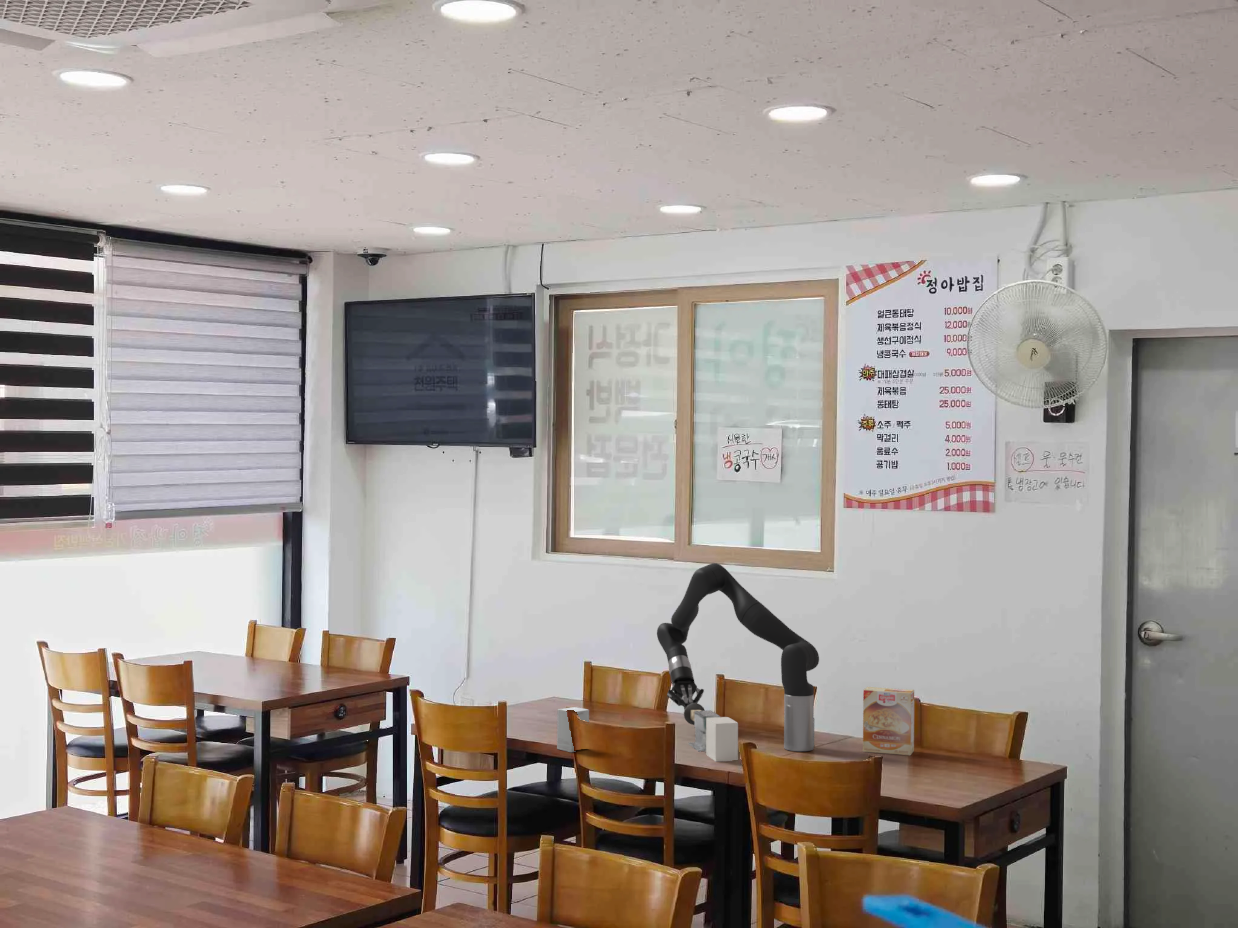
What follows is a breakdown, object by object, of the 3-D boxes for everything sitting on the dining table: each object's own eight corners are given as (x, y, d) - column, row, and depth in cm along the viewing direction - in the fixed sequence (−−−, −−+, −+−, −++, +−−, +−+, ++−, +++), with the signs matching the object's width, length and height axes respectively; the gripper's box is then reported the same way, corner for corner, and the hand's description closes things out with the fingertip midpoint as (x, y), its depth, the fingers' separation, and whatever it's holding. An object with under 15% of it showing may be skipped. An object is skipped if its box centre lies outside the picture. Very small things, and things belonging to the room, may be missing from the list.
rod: (683, 724, 448) (683, 703, 448) (704, 723, 450) (704, 702, 450) (703, 738, 426) (703, 715, 426) (725, 737, 427) (725, 714, 427)
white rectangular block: (706, 754, 423) (706, 717, 423) (727, 753, 425) (728, 716, 425) (715, 761, 413) (715, 723, 413) (737, 760, 415) (737, 722, 415)
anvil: (688, 743, 439) (688, 710, 439) (715, 742, 441) (715, 709, 441) (698, 751, 428) (698, 717, 428) (726, 750, 430) (726, 716, 430)
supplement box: (571, 752, 425) (571, 711, 425) (556, 748, 431) (556, 708, 431) (589, 749, 430) (589, 709, 430) (574, 745, 435) (574, 706, 435)
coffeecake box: (862, 751, 429) (862, 689, 429) (866, 747, 435) (866, 686, 435) (911, 755, 423) (911, 692, 423) (914, 751, 430) (914, 688, 430)
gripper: (663, 665, 461) (673, 708, 449) (701, 664, 464) (712, 707, 452) (659, 679, 466) (668, 721, 454) (697, 678, 469) (707, 720, 457)
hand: (690, 714), depth 453 cm, fingers closed
